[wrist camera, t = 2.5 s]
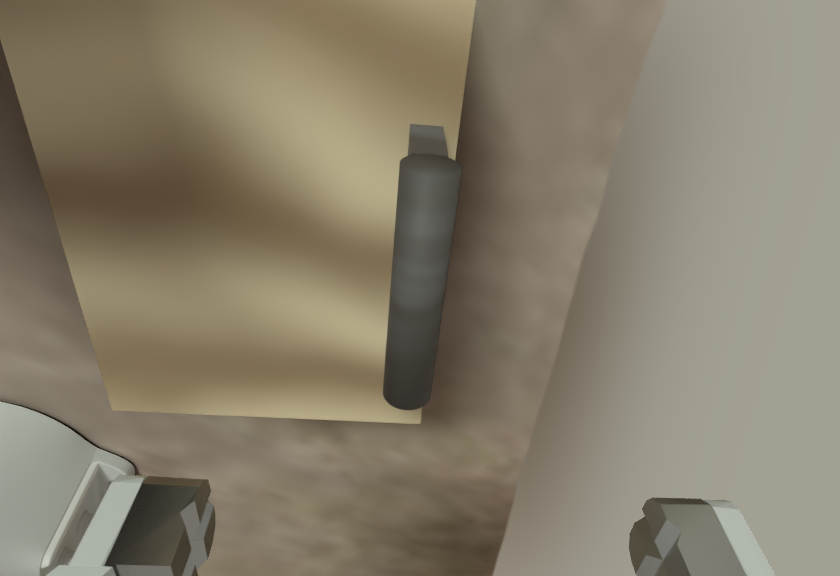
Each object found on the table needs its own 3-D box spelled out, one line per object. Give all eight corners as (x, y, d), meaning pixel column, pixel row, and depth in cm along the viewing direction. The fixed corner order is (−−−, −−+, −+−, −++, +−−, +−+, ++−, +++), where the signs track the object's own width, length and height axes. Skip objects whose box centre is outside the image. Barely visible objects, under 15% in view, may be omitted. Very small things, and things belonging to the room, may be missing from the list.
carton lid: (420, 413, 25) (423, 506, 21) (118, 399, 24) (62, 494, 20) (482, -67, 15) (510, -60, 11) (-33, -123, 14) (-202, -136, 10)
